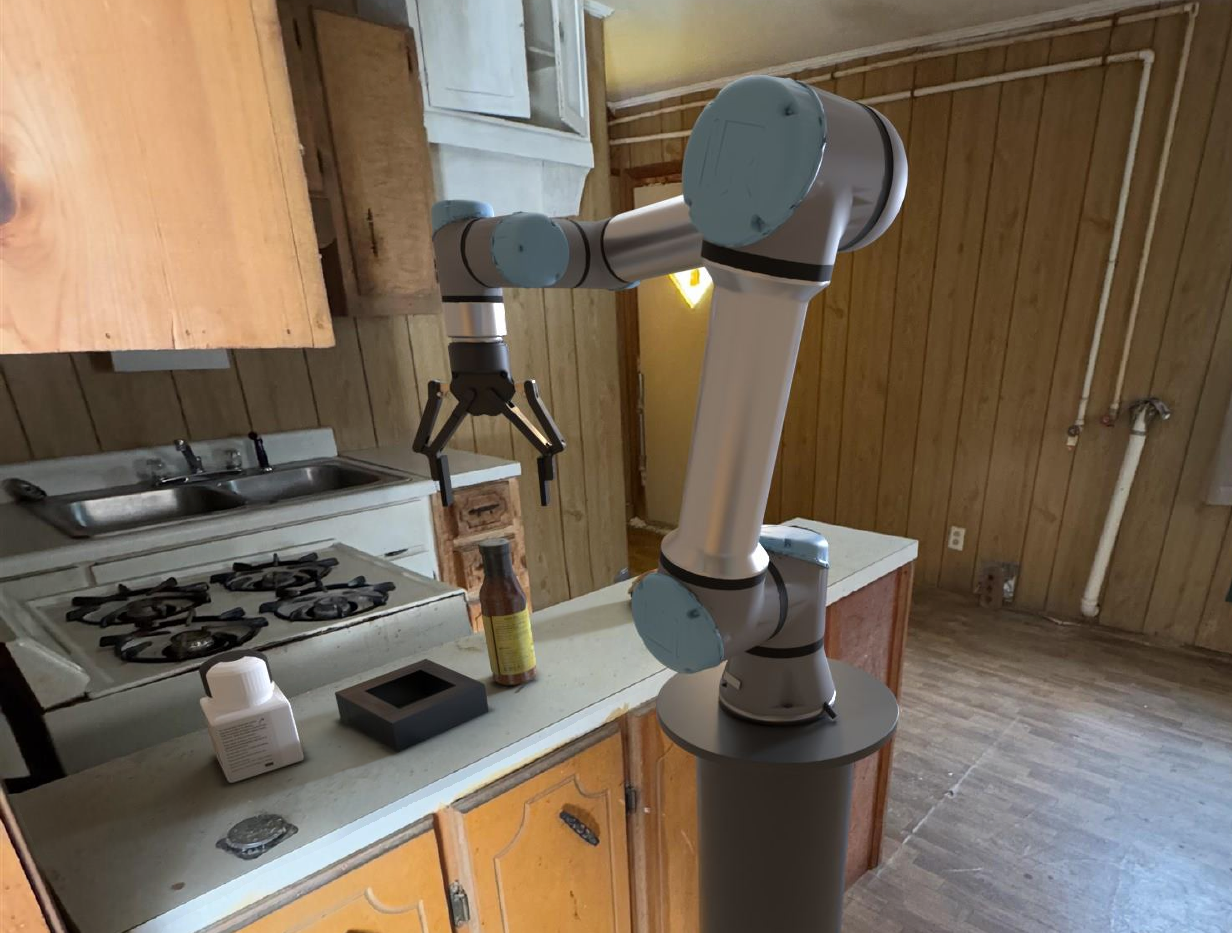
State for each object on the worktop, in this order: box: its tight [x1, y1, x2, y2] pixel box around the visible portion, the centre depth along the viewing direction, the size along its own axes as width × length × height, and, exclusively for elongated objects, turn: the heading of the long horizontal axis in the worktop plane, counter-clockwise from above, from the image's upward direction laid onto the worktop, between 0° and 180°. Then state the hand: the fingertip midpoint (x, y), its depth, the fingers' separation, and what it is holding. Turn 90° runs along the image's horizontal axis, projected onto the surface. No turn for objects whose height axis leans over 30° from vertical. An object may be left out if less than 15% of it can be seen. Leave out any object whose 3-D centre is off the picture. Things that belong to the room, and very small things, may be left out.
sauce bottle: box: [477, 537, 537, 686], centre depth 106 cm, size 6×6×20 cm
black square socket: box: [334, 658, 489, 753], centre depth 99 cm, size 13×13×4 cm
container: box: [198, 649, 305, 784], centre depth 88 cm, size 8×8×13 cm
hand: (497, 504), depth 109 cm, fingers open, 13 cm apart
